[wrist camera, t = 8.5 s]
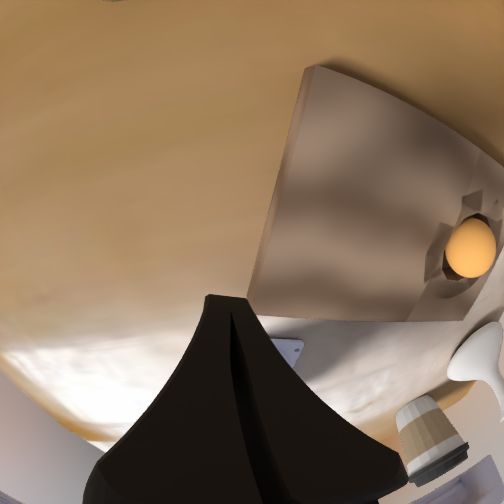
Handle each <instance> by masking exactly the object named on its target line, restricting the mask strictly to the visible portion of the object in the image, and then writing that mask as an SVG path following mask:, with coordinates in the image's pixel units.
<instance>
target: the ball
mask: <svg viewBox="0 0 504 504" xmlns="http://www.w3.org/2000/svg"><path fill="white" fill-rule="evenodd" d="M445 254H446V258H447V261H448V263H449V265H450V266H451V268H452V269H453V270H454V271H455V272H456V273H457V274H459V275H461V276H463V277H467V278H474V277H478V276H481V275H482V274H484V273H485V272H486V271H487V270H488V269H489V268H490V267H491V265H492V263H493V261H494V259H495V255H496V241H495V237H494V235H493V233H492V231H491V229H490V228H489V227H488V225H486V224H485V223H484V222H483V221H481V220H479V219H476V218H465V219H464V220H463V221H462V222H461V224H460V225H459V226H458V227H457V228H456V229H455V230H454V232H453V233H452V235H451V237H450V239H449V242H448V244H447V246H446V248H445Z"/></svg>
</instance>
